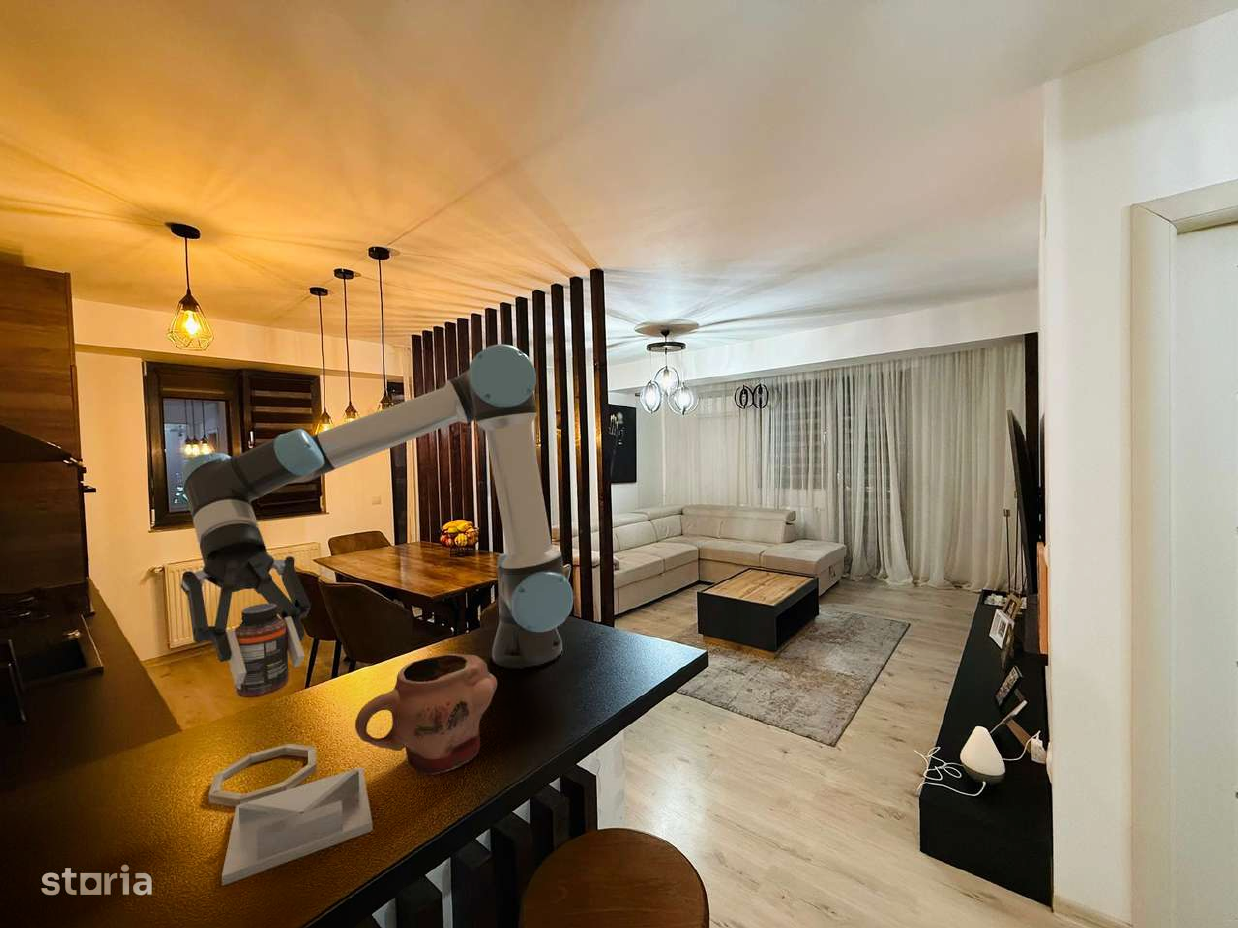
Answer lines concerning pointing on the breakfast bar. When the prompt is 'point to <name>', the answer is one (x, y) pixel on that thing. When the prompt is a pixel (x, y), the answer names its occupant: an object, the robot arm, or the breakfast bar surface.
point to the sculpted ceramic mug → (434, 711)
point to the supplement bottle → (262, 651)
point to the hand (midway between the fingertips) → (271, 669)
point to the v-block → (296, 823)
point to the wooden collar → (237, 798)
